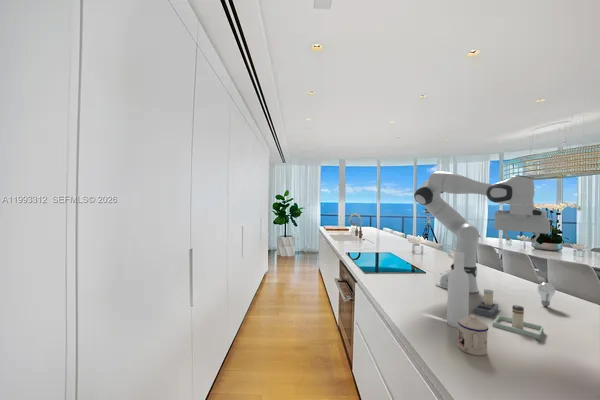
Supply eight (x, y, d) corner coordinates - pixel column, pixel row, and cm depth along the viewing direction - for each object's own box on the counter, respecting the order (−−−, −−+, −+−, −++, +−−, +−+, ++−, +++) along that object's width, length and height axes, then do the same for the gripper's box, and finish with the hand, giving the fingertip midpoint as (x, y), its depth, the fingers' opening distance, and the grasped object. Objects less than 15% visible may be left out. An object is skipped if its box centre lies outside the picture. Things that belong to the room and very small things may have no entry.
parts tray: (492, 328, 120) (492, 322, 120) (498, 320, 128) (498, 315, 128) (539, 341, 110) (539, 334, 110) (543, 332, 118) (543, 326, 118)
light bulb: (557, 309, 144) (558, 285, 144) (541, 308, 146) (542, 284, 146) (549, 304, 151) (549, 281, 151) (533, 303, 153) (534, 280, 153)
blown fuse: (510, 328, 119) (511, 306, 119) (512, 326, 122) (513, 304, 122) (522, 332, 116) (523, 309, 116) (523, 329, 119) (524, 307, 119)
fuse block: (470, 314, 135) (470, 306, 135) (479, 307, 145) (479, 300, 145) (493, 320, 128) (494, 312, 128) (501, 312, 138) (501, 305, 138)
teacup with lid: (456, 341, 108) (457, 309, 108) (484, 346, 105) (485, 313, 105) (459, 356, 97) (460, 321, 97) (492, 363, 94) (493, 326, 94)
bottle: (442, 322, 125) (444, 251, 125) (456, 319, 128) (458, 250, 128) (458, 330, 118) (460, 254, 118) (472, 327, 121) (474, 254, 121)
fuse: (482, 309, 139) (483, 290, 139) (484, 307, 142) (485, 288, 141) (491, 311, 136) (492, 292, 136) (493, 309, 139) (494, 290, 139)
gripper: (492, 210, 139) (491, 239, 139) (549, 212, 124) (548, 245, 124) (496, 209, 143) (495, 238, 143) (551, 212, 129) (550, 243, 129)
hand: (520, 241), depth 133 cm, fingers open, 8 cm apart
